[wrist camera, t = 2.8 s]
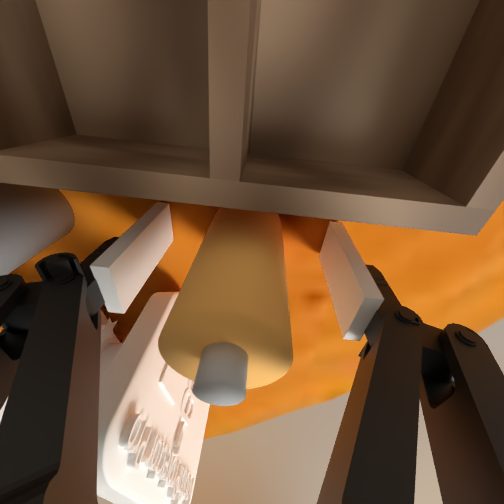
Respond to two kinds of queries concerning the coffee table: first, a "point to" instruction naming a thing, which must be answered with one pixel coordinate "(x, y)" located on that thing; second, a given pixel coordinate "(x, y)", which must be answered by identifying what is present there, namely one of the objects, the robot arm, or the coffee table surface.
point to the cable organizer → (145, 416)
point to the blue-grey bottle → (30, 222)
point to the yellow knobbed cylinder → (232, 310)
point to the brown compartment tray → (262, 105)
